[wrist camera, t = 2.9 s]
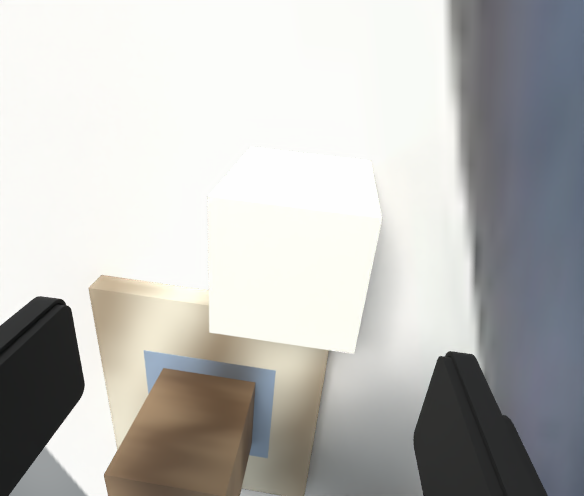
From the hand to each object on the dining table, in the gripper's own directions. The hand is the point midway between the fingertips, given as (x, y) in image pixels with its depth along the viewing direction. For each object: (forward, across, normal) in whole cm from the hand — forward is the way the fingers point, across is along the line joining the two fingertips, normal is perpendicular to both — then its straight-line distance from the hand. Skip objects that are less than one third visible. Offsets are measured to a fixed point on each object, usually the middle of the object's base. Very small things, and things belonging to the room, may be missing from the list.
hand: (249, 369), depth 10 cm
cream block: (+9, -1, -1) cm, 9 cm away
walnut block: (+8, +3, +11) cm, 14 cm away
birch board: (+9, +3, +11) cm, 15 cm away
